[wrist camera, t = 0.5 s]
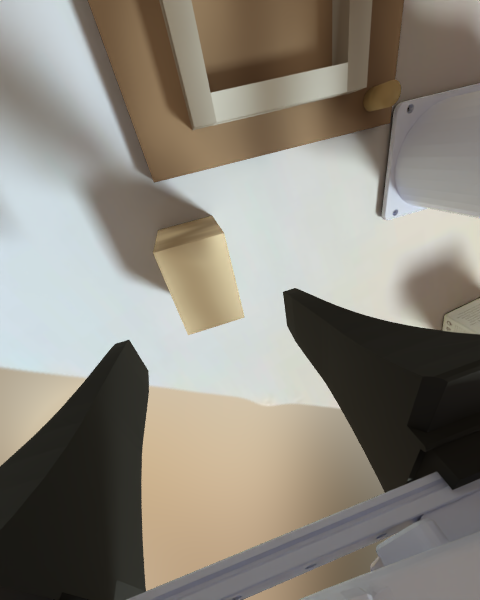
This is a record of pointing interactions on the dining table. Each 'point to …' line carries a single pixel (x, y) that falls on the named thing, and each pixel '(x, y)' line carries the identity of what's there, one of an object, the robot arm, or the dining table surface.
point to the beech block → (199, 273)
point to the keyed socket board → (248, 74)
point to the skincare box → (464, 319)
